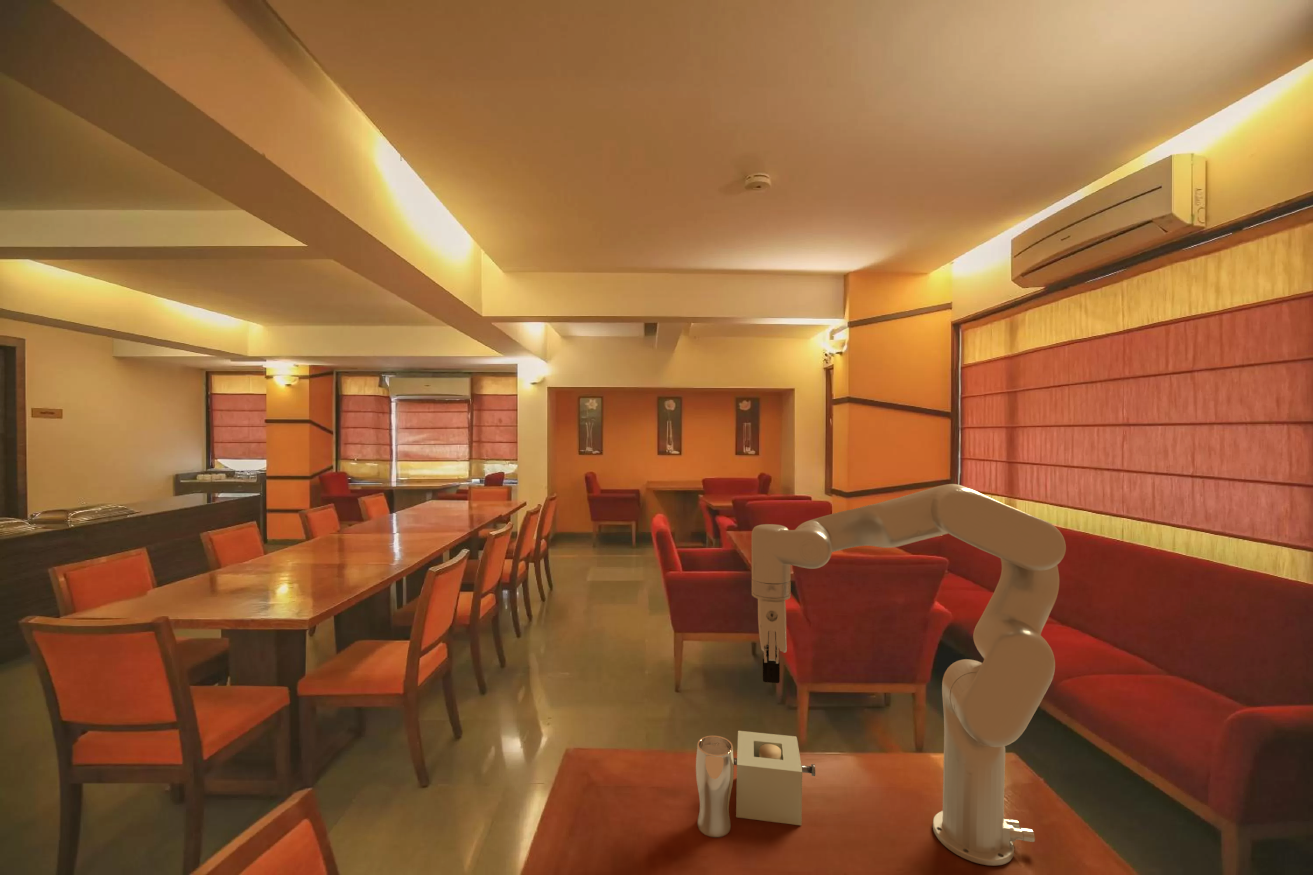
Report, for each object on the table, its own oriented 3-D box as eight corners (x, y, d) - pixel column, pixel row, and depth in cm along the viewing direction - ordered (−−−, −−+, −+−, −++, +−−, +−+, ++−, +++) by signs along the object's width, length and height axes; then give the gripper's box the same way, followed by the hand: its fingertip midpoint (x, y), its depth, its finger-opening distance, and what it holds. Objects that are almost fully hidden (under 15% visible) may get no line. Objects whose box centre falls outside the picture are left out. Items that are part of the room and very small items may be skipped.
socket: (795, 784, 114) (796, 736, 114) (801, 825, 102) (802, 771, 102) (737, 777, 116) (738, 730, 116) (736, 816, 104) (736, 764, 104)
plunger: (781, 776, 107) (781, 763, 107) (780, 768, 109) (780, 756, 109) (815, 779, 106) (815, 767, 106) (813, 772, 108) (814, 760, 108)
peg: (780, 794, 110) (780, 744, 110) (782, 808, 106) (781, 757, 106) (759, 792, 111) (759, 743, 111) (760, 806, 107) (759, 755, 107)
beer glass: (731, 842, 97) (732, 758, 97) (692, 835, 99) (693, 753, 99) (734, 815, 104) (735, 737, 104) (697, 809, 106) (698, 732, 105)
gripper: (793, 600, 100) (793, 700, 100) (787, 578, 115) (787, 666, 115) (751, 598, 102) (752, 697, 102) (751, 577, 116) (751, 663, 116)
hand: (771, 680), depth 108 cm, fingers closed
